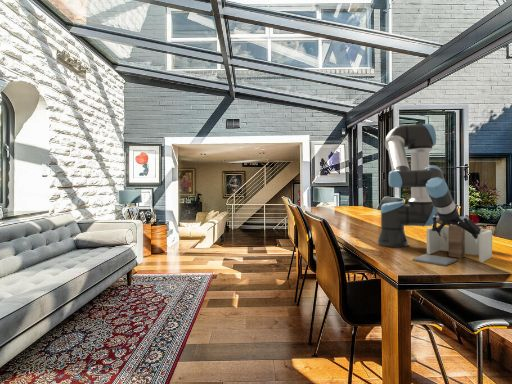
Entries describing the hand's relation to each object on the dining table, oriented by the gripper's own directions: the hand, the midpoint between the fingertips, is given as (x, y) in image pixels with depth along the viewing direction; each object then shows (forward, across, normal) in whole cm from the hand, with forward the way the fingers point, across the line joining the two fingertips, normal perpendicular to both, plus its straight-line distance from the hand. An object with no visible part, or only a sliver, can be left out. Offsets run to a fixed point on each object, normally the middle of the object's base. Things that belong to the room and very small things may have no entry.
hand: (460, 241), depth 147 cm
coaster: (-7, -5, -17) cm, 19 cm away
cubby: (+5, -1, -4) cm, 7 cm away
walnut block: (+4, -1, -6) cm, 7 cm away
